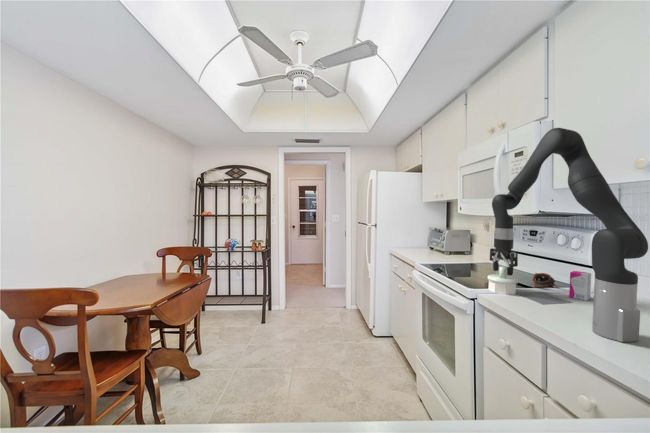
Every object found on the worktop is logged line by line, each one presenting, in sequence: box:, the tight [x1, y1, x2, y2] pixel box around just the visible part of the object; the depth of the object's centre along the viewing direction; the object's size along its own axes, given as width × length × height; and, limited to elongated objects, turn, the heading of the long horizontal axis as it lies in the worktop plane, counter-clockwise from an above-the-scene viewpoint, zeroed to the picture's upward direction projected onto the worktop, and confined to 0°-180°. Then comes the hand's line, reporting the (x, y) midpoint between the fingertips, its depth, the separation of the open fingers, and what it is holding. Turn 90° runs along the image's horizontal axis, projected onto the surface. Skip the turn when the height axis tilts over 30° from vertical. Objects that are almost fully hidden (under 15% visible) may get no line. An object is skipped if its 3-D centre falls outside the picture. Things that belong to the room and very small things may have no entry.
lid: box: [487, 265, 519, 285], centre depth 129 cm, size 12×12×6 cm
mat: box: [514, 291, 574, 306], centre depth 120 cm, size 14×14×1 cm
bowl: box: [487, 280, 517, 296], centre depth 130 cm, size 11×11×5 cm
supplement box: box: [568, 270, 592, 302], centre depth 120 cm, size 6×6×12 cm
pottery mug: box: [531, 272, 557, 288], centre depth 136 cm, size 12×10×8 cm
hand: (502, 272), depth 129 cm, fingers open, 8 cm apart
